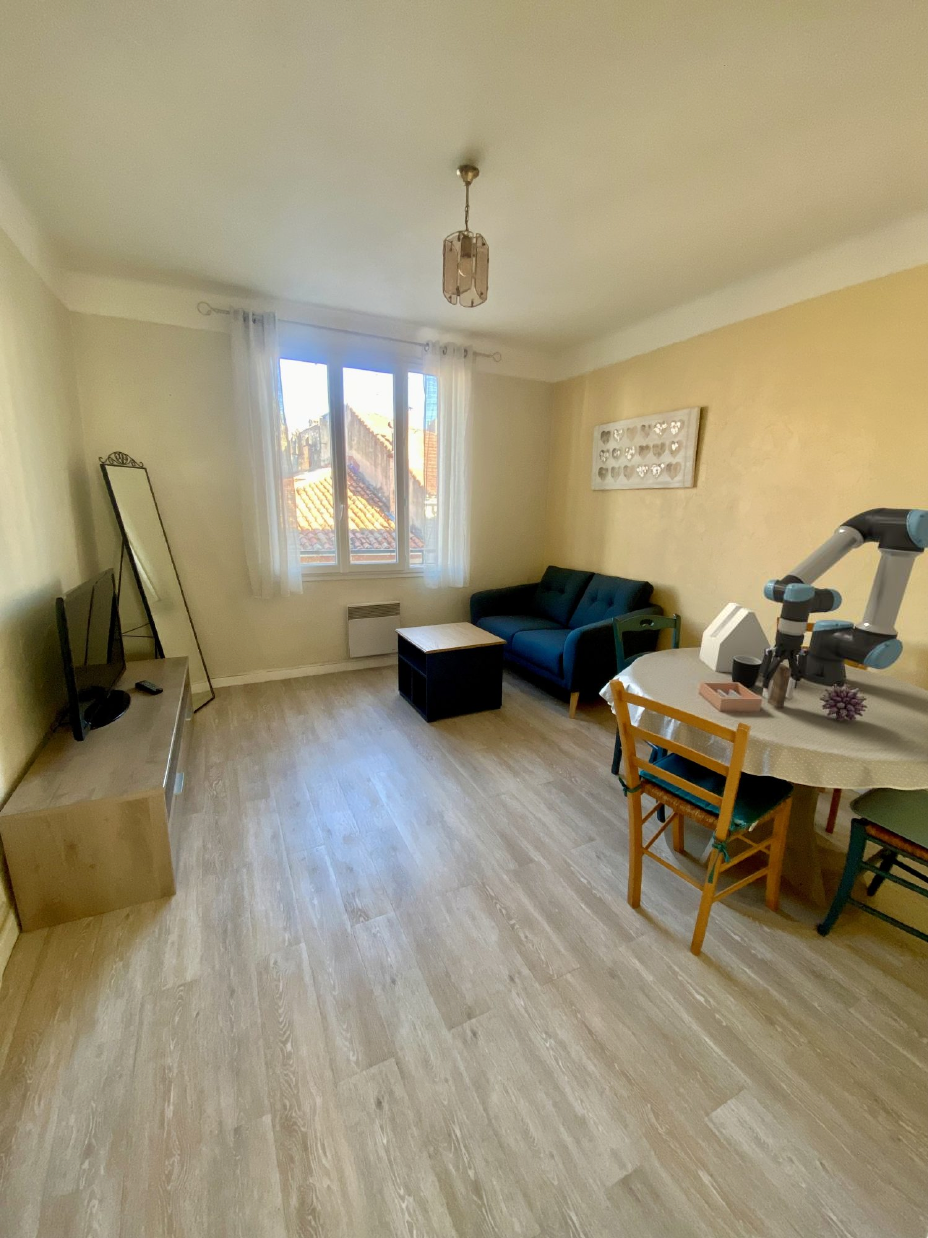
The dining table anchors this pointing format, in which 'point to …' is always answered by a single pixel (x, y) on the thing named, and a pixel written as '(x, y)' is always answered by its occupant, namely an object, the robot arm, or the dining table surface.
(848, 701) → the purple spiky ball
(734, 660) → the mug
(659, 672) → the dining table surface
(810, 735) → the dining table surface
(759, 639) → the white house-shaped block
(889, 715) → the dining table surface
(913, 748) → the dining table surface
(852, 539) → the robot arm
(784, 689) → the brown tall bar
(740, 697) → the pink shallow tray
